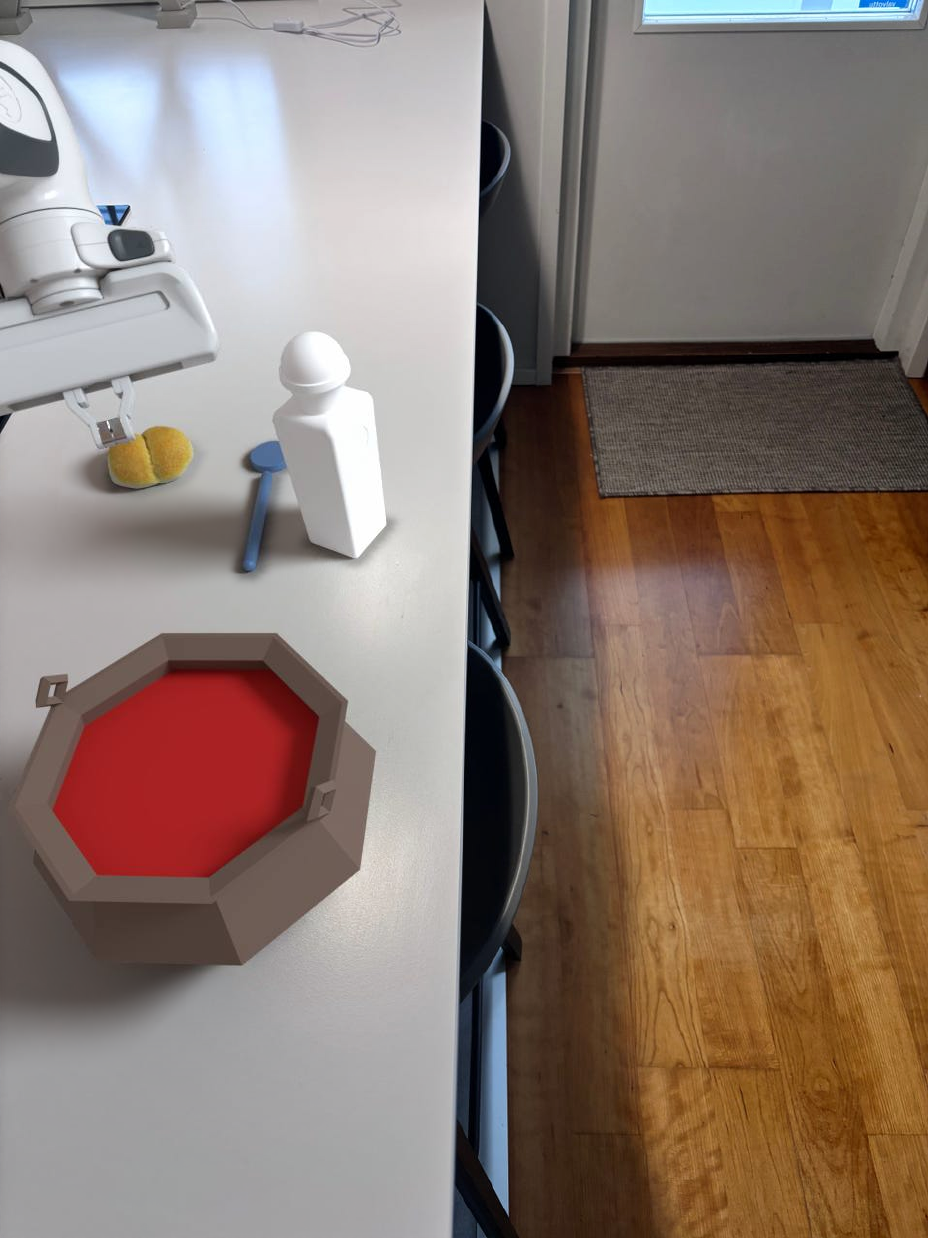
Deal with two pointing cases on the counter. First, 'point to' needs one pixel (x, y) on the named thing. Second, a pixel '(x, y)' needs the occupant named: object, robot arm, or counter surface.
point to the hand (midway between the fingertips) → (116, 443)
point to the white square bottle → (330, 446)
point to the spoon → (262, 495)
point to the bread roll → (150, 458)
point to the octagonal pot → (194, 798)
